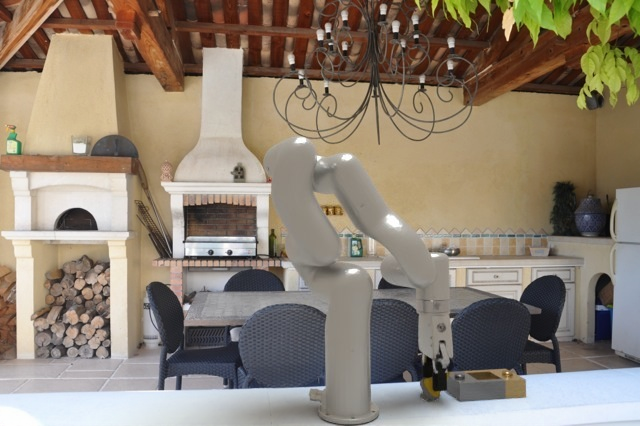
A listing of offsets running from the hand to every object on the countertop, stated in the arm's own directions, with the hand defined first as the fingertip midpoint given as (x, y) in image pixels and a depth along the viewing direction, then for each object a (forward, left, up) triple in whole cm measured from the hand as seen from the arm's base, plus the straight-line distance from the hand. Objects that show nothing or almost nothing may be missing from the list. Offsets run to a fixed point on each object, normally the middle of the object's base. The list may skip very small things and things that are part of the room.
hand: (434, 385), depth 115 cm
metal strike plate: (+10, +8, -3) cm, 13 cm away
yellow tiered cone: (0, 0, -3) cm, 3 cm away
